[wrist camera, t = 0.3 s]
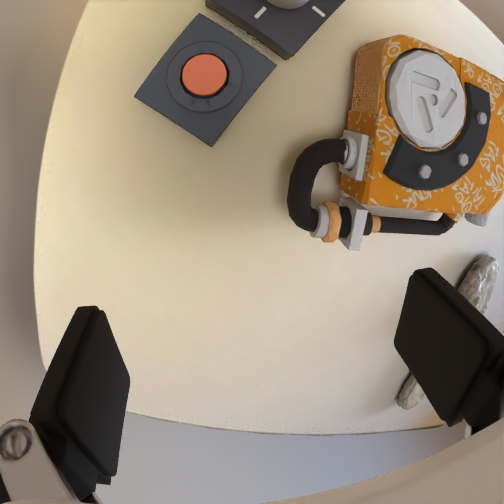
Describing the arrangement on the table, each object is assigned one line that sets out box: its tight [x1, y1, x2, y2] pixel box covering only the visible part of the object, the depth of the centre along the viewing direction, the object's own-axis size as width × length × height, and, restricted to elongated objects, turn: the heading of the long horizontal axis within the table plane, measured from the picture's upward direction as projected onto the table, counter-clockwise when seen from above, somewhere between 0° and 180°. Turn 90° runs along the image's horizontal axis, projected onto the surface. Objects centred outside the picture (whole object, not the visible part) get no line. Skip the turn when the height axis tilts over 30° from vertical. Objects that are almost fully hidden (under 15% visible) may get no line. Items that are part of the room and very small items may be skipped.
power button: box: [182, 54, 226, 96], centre depth 23 cm, size 4×4×2 cm
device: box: [287, 35, 504, 251], centre depth 29 cm, size 23×8×30 cm
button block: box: [134, 13, 277, 147], centre depth 26 cm, size 10×9×4 cm
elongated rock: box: [397, 256, 499, 410], centre depth 47 cm, size 35×5×10 cm
